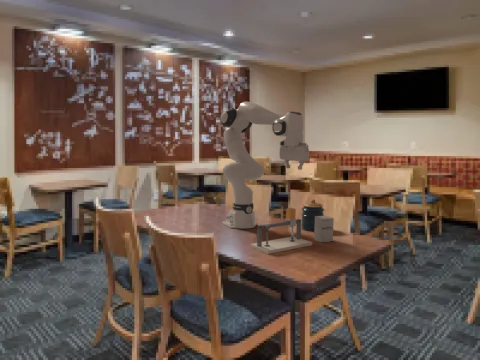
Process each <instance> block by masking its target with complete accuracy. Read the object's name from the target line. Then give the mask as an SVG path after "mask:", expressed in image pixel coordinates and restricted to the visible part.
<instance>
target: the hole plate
mask: <svg viewBox="0 0 480 360" xmlns="http://www.w3.org/2000/svg"><path fill="white" fill-rule="evenodd" d="M301 224H302V218H296V227H295V228H296V230H295V231H296V235H293V240H292V239H291V236H287V237H283V238H275V239H271V240H269V230H270V229H271V228H276V227H282V226H283V227H284V226H285V225H288V226H289V221H279V222H272V223H265V224H258V225H257V224H256V225H257V226H256V227H257V228H256V230H257V231H256V242H254V243H250V245H249V247H250V248H252V249H254V250H257V251H259V252H261V253H264V254H267V255H270V254H271V255H272V254H274V253H275V254H276V253H281V252H285V251H290V250H295V249H300V248H304V247H308V246H313V242H312V241H309V240H306V239H304V238H302V226H301ZM263 230H266V231H265V232H266V233H265V236H266V237H265V239H266V240H265V241H263V239H262V238H263V235H262V234H263Z"/></svg>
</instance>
